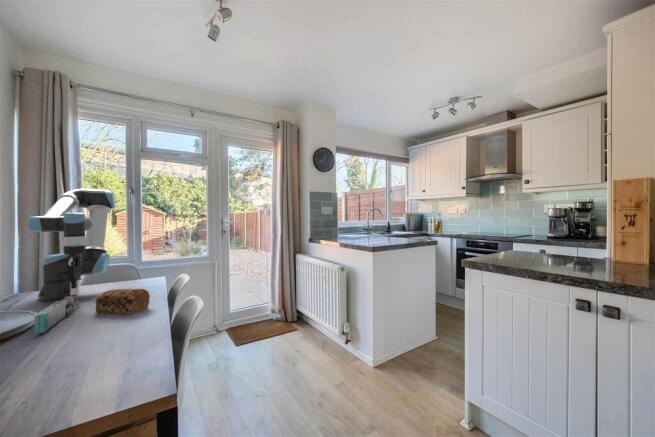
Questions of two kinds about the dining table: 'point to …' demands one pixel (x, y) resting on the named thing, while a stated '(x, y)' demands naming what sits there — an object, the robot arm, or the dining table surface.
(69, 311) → the base
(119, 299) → the bread
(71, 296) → the tab
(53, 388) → the dining table surface
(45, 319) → the jaw
